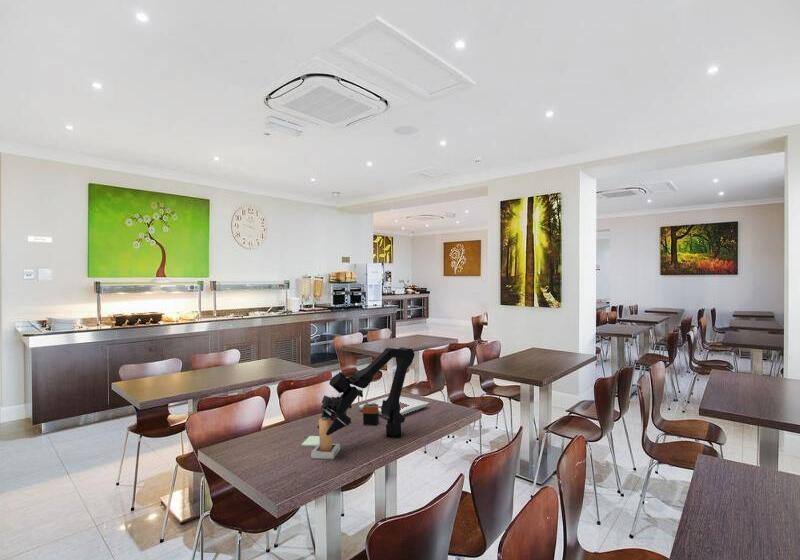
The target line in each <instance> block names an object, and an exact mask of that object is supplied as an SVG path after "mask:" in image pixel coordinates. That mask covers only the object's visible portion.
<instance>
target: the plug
mask: <svg viewBox="0 0 800 560" xmlns="http://www.w3.org/2000/svg"><path fill="white" fill-rule="evenodd" d="M331 424H332V421H331V418H328V417H323V418H321V417H320V418H319V419H318V425H319V429H318V432H319V433H318V436H319V438H320V451H332V444H333V442H332V439H333V438H332V434H330V435H326V433H327V431H328V429H329V428H330V426H331Z"/></svg>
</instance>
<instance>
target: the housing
mask: <svg viewBox="0 0 800 560" xmlns="http://www.w3.org/2000/svg"><path fill="white" fill-rule="evenodd" d="M340 450H341V444H340V443H332V451H320V443H319V444H318V445H317V446H314V449H313V450H311V453H310V454H311V456H310V457H311V459H324V460H326V459H327V460H334V459H335V458H336V456H337V455H338V453H339V452H340Z"/></svg>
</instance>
